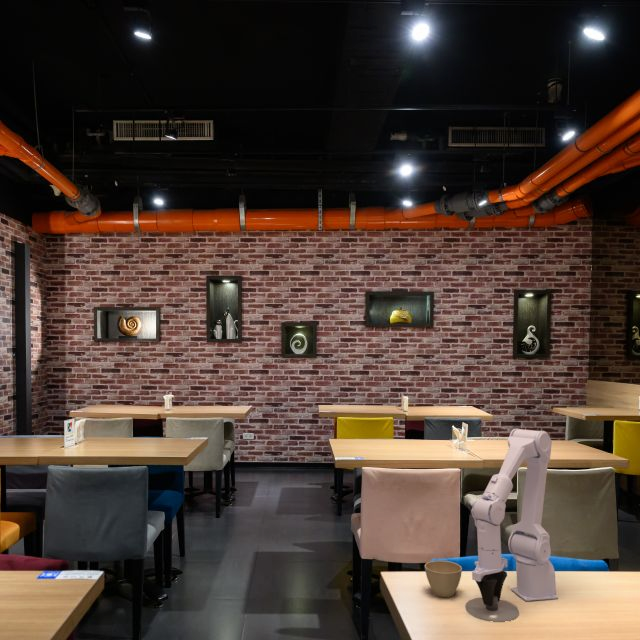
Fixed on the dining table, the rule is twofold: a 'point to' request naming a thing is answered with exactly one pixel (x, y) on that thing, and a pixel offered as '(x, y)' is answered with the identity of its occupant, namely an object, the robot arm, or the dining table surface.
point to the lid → (492, 610)
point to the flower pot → (443, 577)
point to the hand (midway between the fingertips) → (491, 602)
